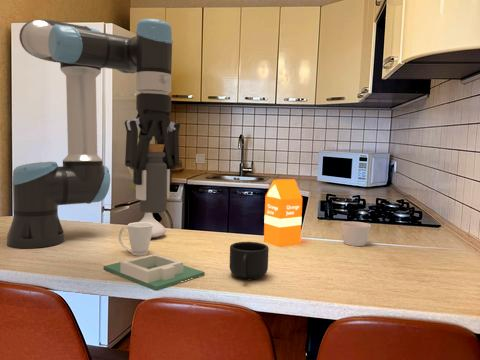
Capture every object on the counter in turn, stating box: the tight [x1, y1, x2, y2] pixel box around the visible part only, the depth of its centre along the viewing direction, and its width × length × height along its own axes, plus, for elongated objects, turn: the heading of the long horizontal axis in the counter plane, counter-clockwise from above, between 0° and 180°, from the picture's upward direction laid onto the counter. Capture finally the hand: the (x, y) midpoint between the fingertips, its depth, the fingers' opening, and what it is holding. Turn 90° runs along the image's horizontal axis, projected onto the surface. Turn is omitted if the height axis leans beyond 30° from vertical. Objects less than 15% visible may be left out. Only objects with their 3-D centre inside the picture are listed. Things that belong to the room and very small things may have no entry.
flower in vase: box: [127, 167, 167, 239], centre depth 134 cm, size 13×11×25 cm
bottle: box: [139, 143, 167, 214], centre depth 94 cm, size 6×6×15 cm
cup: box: [118, 221, 153, 256], centre depth 115 cm, size 7×10×8 cm
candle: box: [341, 221, 372, 247], centre depth 133 cm, size 9×9×6 cm
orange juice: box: [263, 178, 303, 248], centre depth 131 cm, size 8×9×20 cm
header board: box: [103, 253, 205, 291], centre depth 99 cm, size 20×14×3 cm
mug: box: [229, 241, 270, 280], centre depth 97 cm, size 12×9×7 cm
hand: (153, 198), depth 94 cm, fingers closed on bottle, 6 cm apart
